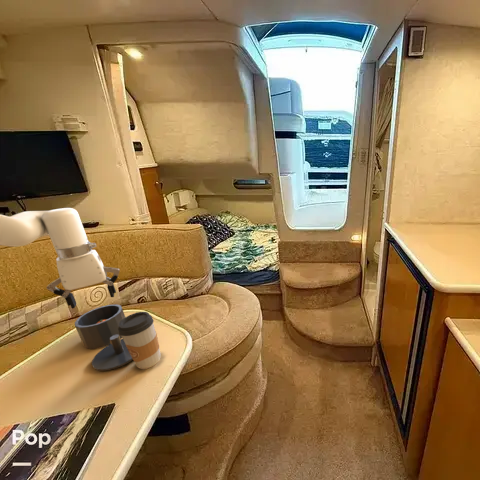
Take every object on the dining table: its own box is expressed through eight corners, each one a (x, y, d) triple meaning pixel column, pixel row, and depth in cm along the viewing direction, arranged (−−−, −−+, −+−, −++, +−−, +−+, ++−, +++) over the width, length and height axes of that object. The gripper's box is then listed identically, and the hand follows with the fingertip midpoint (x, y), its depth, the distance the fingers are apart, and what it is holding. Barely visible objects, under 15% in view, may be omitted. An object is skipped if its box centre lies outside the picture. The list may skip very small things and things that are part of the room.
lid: (95, 380, 74) (87, 361, 72) (91, 355, 84) (83, 338, 81) (151, 353, 83) (145, 336, 81) (141, 333, 92) (135, 317, 90)
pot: (85, 355, 84) (75, 332, 81) (82, 336, 93) (73, 316, 90) (132, 334, 92) (124, 314, 89) (125, 319, 101) (118, 300, 98)
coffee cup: (126, 368, 78) (108, 326, 72) (151, 348, 85) (137, 308, 80) (146, 375, 75) (130, 331, 70) (171, 354, 82) (158, 313, 77)
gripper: (111, 240, 86) (127, 287, 92) (37, 254, 77) (60, 305, 83) (109, 246, 80) (126, 296, 86) (30, 262, 71) (55, 316, 77)
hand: (94, 300), depth 84 cm, fingers open, 9 cm apart
